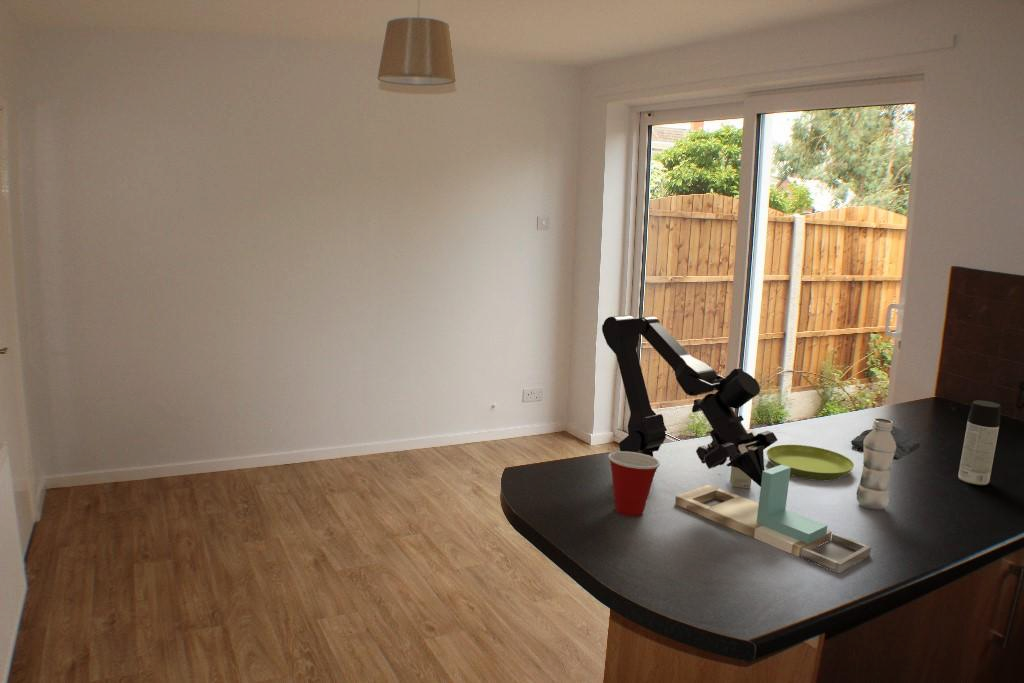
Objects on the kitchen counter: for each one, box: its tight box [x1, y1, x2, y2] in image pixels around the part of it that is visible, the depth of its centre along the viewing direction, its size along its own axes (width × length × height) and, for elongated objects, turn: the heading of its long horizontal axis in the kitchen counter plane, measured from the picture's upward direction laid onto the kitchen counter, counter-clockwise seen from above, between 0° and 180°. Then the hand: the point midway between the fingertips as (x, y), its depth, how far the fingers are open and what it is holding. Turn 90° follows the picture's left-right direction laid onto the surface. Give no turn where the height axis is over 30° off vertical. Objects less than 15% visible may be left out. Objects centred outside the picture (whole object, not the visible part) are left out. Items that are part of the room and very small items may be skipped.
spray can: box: [957, 399, 1002, 486], centre depth 182 cm, size 7×7×20 cm
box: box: [729, 429, 756, 489], centre depth 173 cm, size 5×4×13 cm
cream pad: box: [753, 526, 799, 554], centre depth 147 cm, size 8×12×2 cm, turn 129°
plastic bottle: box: [856, 417, 896, 511], centre depth 163 cm, size 6×7×20 cm
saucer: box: [765, 444, 855, 481], centre depth 187 cm, size 21×21×3 cm
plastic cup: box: [608, 451, 661, 518], centre depth 155 cm, size 11×11×12 cm
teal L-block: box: [756, 465, 828, 544], centre depth 145 cm, size 11×7×11 cm, turn 40°
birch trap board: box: [674, 484, 872, 574], centre depth 151 cm, size 37×12×2 cm, turn 40°
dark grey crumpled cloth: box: [850, 425, 921, 460], centre depth 209 cm, size 15×22×5 cm
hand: (763, 485), depth 150 cm, fingers closed
